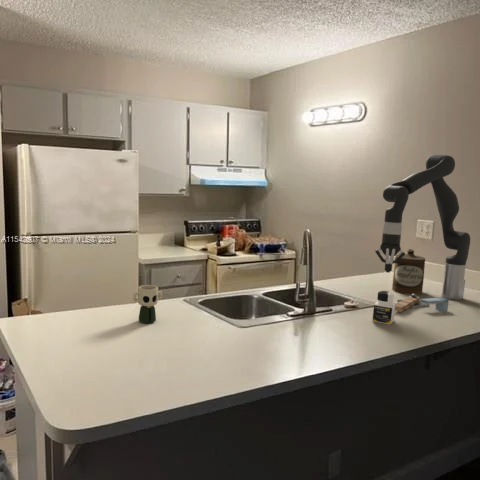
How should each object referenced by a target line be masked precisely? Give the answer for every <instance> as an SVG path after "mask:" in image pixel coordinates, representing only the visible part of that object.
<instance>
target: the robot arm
mask: <svg viewBox="0 0 480 480" xmlns="http://www.w3.org/2000/svg"><path fill="white" fill-rule="evenodd" d="M455 167H456V161H455V159H454V157H453V156H451V155H448V154H431V155H429V156H428V157H427V159H426V161H425V169H423V170H420V171H417V172H414V173H412V174H411V175H409V176H407V177H406V178H404V179H403V180H400V181H396V182H394V183H391V184H389V185H388V186H386V187H385V188H384V189H383V192H382V198H383V199H384V201H386V202H388V203H394V204H393V206H392V207H389V208H386V210H385V213H384V223H383V227H382V237H381V238H382V239H381V245H380V246H379V247H378V248H377V249H375V250H374V252H375V254H376V255H377V257H378V258H379V260H380V261H381V262H382V263H384V271H385V272H386V273H387V274H388V273H391V272H392V270H393V264H394V265H395V263H397V262H398V261H399V260H400V259H401V258H402V257H403V256H404V255H405V254H406V253H405V251H403V250H402V247H401V239H402V224H403V223H402V221H403V213H404V211H405V208H406V205H407V203H408V200H409V196H410V195H412V194H414V193H415V192H417V191H418V190H420V189H421V188H423V187H425V186H426V185H428V184H431V187H432V190H433V193H434V198H435V202H436V207H437V211H438V214H439V218H440V222H441V223H440V224H441V229H442V235H443V242H444V246H445V247H446V248H447V249H450V250H454V251H456V253H455V254H453V255H450V256H446V258H445V264H444V273H443V282H442V290H441V298H445V299H448V300H456V301H457V300H459V301H460V300H462V299H464V294H465V285H466V279H465V276H466V275H465V274H466V267H467V266H466V265H467V261H468V257H469V253H470V247H471V246H470V245H471V234H469V232H465V231H457V230H455V229H454V224H453V223H454V221H455V219H456V217H457V216H458V214H459V211H460V204H459V200H458V197H457V194H456V193H455V192H454V190H453V189H452V188H451V187H450V185H449V184H448V183H447V182H446V181H445V179H444V177H445V178H446V177H447V176H449V175H451V174H452V173H453V172H454V170H455ZM381 253H382V254H383V255H384V258H383V256H382V255H381ZM396 255H399V256H398V257H397V258H396V259H395V256H396Z"/></svg>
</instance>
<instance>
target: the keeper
mask: <svg viewBox="0 0 480 480" xmlns="http://www.w3.org/2000/svg"><path fill="white" fill-rule="evenodd" d="M449 300H450V299H448V298H444V297H428V298H420V301H421V302H423V303H426V304H430V305H433V304H435V310H437V311H439V312H444V313H445V312H448V309H449Z"/></svg>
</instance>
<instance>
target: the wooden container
mask: <svg viewBox="0 0 480 480" xmlns="http://www.w3.org/2000/svg"><path fill="white" fill-rule="evenodd" d="M406 251H407V253H405V255H404V256H403V257H402V258H401V259H400V260H399V261H398V262H397V263H394V268H393V275H392V286H391V287H392V288H391V290H392V291H394V292H396V293H400V294H404V295H411V294H412V293H413V294H417V295H420V294H423V286H424V281H425V280H424V278H425V264H426V258H425V257H424V256H422V255H421V256H420V255H415V254H414V253H415V250H413V249H412V248H411V249H410V248H409V249H407V250H406ZM398 256H399V254H396V255H395V256H394V260H395V259H396V258H397V257H398Z"/></svg>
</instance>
